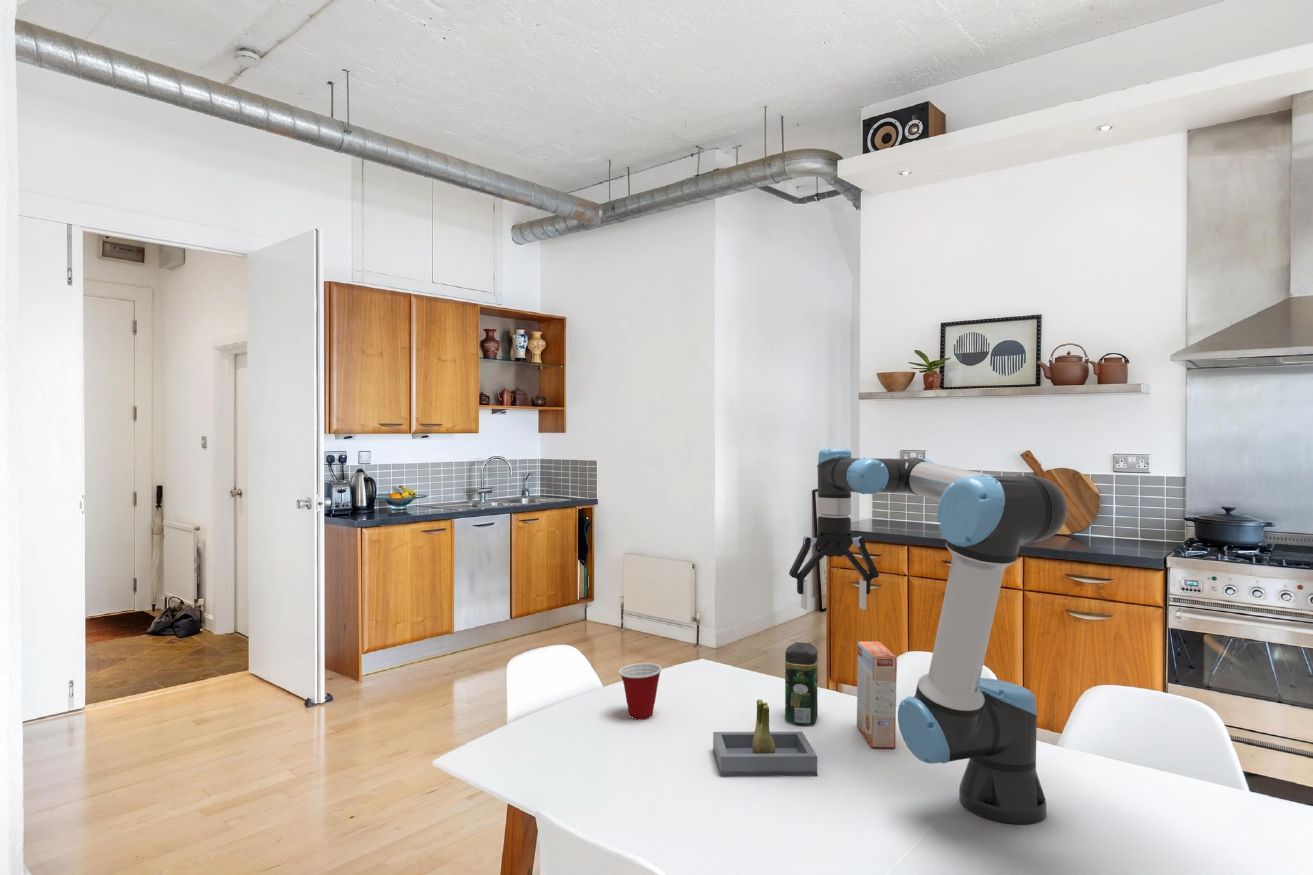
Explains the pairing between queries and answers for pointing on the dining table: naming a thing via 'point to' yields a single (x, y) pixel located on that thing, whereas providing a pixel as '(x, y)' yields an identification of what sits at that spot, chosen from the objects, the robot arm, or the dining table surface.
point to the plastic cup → (640, 688)
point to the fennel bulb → (762, 731)
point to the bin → (764, 755)
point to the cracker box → (876, 694)
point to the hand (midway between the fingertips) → (833, 608)
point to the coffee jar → (801, 683)
